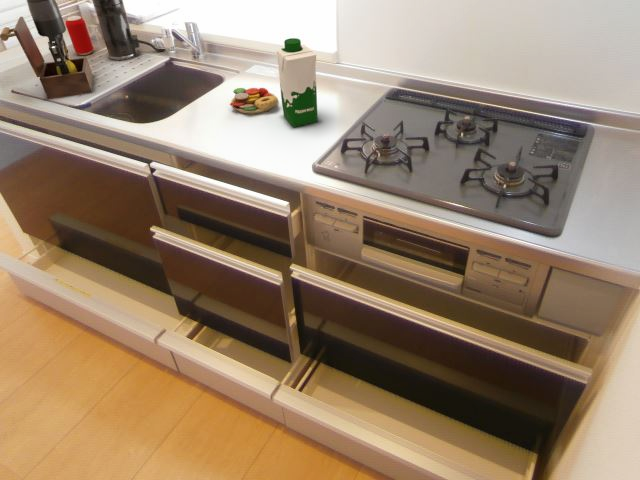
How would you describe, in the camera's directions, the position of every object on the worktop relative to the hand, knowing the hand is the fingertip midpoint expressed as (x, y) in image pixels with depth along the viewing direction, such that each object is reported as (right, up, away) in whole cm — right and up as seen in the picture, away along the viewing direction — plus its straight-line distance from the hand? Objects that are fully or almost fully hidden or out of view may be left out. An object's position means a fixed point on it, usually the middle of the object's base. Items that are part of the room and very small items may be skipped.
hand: (67, 73), depth 154 cm
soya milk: (+72, -19, -19) cm, 77 cm away
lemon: (0, -3, +2) cm, 4 cm away
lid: (-7, +5, -7) cm, 12 cm away
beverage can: (-6, +15, +25) cm, 30 cm away
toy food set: (+59, -13, -12) cm, 61 cm away
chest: (0, -3, +3) cm, 4 cm away
